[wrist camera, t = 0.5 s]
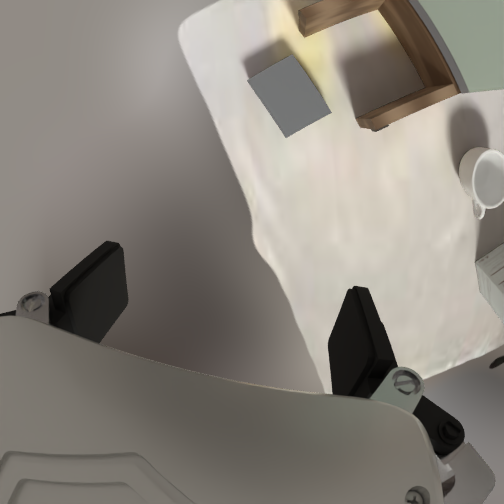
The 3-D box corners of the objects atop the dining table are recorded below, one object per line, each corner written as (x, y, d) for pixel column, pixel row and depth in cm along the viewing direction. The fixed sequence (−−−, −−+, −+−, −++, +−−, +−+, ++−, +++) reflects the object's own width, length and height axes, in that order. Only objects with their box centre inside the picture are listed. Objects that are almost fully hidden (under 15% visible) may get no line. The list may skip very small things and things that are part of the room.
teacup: (454, 138, 29) (474, 143, 24) (492, 148, 28) (514, 155, 23) (446, 208, 33) (464, 222, 28) (484, 212, 32) (503, 226, 27)
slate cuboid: (292, 60, 29) (292, 54, 25) (328, 113, 31) (331, 112, 28) (251, 84, 31) (246, 80, 28) (286, 136, 33) (285, 138, 30)
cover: (390, -22, 15) (396, -23, 15) (461, 93, 20) (465, 91, 20) (455, -74, 4) (461, -72, 3) (552, 87, 8) (555, 85, 8)
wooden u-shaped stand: (378, -2, 22) (394, -24, 15) (437, 95, 27) (466, 93, 20) (297, 28, 26) (297, 7, 20) (361, 129, 31) (377, 132, 24)
